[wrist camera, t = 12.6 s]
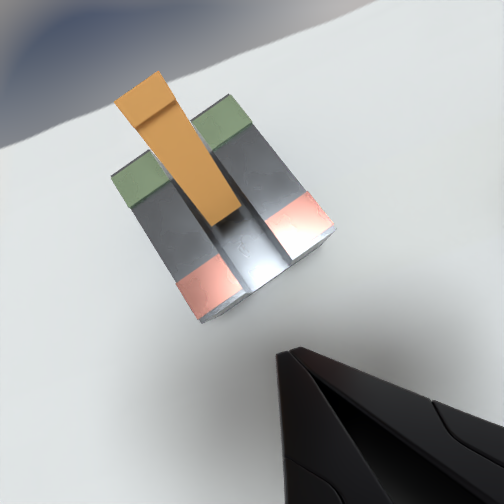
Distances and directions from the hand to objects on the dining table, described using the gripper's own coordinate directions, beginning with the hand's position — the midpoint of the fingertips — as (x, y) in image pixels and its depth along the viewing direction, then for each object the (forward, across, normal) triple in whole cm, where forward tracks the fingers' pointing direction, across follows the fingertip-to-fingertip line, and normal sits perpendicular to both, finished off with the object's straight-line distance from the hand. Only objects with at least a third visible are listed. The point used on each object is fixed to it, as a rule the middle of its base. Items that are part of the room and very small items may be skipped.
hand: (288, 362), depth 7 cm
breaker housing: (+14, +1, +1) cm, 14 cm away
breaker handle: (+11, 0, +3) cm, 12 cm away
